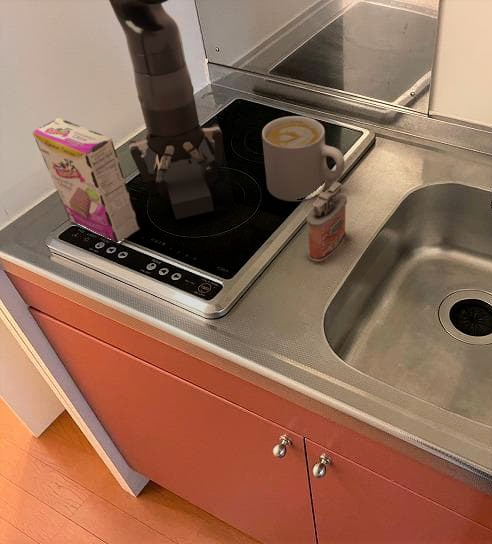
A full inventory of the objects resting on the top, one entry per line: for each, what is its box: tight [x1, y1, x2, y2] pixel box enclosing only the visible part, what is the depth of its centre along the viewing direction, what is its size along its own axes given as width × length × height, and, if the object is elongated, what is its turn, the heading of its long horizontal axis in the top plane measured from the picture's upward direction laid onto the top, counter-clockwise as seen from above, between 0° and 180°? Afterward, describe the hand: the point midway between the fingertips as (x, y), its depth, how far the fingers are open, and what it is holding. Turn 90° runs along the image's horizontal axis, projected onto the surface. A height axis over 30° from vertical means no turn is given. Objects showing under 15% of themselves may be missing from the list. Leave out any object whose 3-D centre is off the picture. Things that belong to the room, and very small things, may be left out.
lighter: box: [306, 181, 348, 266], centre depth 82 cm, size 8×3×10 cm, turn 147°
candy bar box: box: [32, 117, 141, 246], centre depth 84 cm, size 11×5×16 cm, turn 58°
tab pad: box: [165, 160, 215, 220], centre depth 92 cm, size 6×13×3 cm, turn 21°
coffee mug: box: [261, 115, 346, 202], centre depth 93 cm, size 13×10×10 cm
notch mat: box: [143, 137, 220, 196], centre depth 100 cm, size 12×12×3 cm
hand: (187, 193), depth 92 cm, fingers closed on tab pad, 6 cm apart
